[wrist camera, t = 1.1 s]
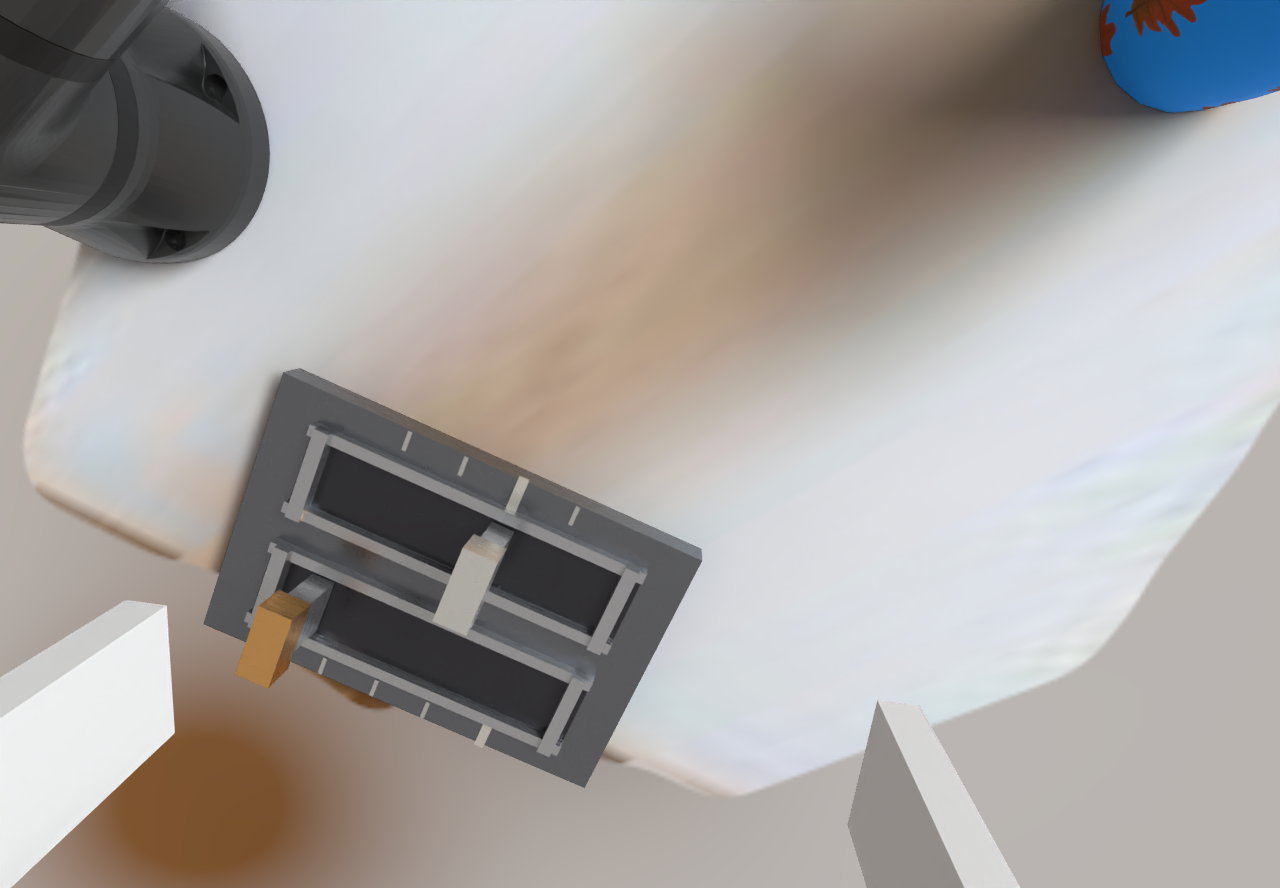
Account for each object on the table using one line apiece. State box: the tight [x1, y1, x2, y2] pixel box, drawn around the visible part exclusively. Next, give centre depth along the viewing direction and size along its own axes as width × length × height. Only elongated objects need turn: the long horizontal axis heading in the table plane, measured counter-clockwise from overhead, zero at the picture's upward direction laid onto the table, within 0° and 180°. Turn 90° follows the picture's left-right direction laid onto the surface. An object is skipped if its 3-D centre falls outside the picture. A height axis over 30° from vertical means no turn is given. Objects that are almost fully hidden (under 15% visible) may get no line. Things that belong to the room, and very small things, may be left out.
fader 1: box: [235, 573, 335, 688], centre depth 46 cm, size 2×5×6 cm, turn 156°
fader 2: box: [433, 522, 514, 636], centre depth 44 cm, size 2×5×6 cm, turn 156°
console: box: [204, 369, 702, 788], centre depth 48 cm, size 30×20×3 cm
